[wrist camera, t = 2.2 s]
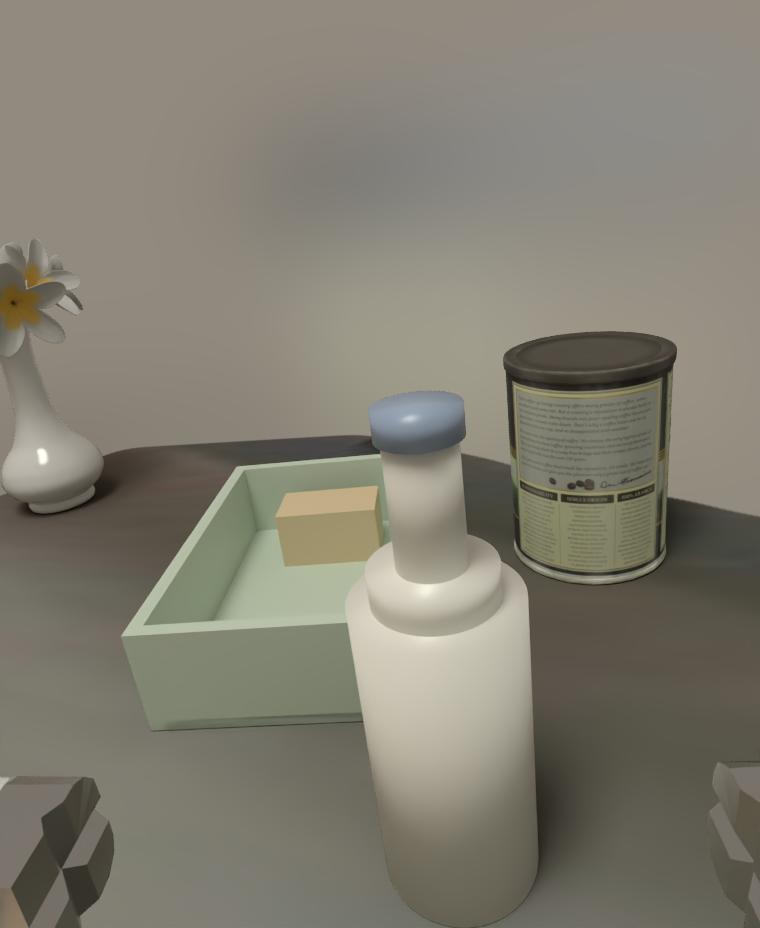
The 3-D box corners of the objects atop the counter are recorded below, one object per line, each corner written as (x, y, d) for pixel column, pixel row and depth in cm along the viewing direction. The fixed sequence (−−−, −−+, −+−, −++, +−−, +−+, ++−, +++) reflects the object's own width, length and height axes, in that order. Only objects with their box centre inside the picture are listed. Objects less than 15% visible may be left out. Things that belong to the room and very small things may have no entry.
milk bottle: (526, 785, 29) (507, 369, 22) (551, 926, 23) (535, 429, 16) (390, 789, 29) (328, 386, 22) (381, 929, 24) (297, 450, 17)
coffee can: (490, 529, 50) (479, 347, 45) (614, 502, 52) (617, 324, 47) (552, 601, 41) (547, 381, 36) (700, 565, 43) (716, 350, 37)
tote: (440, 519, 53) (433, 449, 51) (449, 717, 33) (439, 617, 31) (251, 533, 54) (237, 466, 52) (151, 730, 35) (120, 636, 32)
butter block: (384, 533, 50) (378, 485, 49) (381, 560, 47) (374, 509, 45) (294, 539, 51) (286, 493, 50) (284, 566, 48) (275, 517, 46)
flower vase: (43, 552, 56) (-66, 243, 46) (-31, 507, 68) (-130, 253, 58) (176, 493, 64) (107, 223, 55) (90, 462, 76) (20, 235, 67)
